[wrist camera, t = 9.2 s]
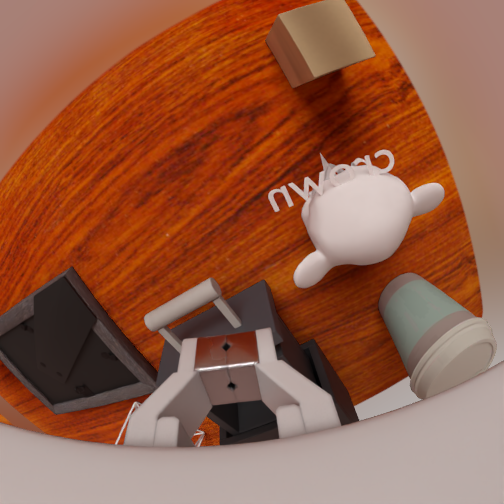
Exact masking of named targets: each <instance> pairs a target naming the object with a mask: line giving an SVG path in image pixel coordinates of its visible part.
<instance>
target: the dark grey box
mask: <svg viewBox="0 0 504 504" xmlns="http://www.w3.org/2000/svg"><path fill="white" fill-rule="evenodd" d="M300 346H301V348H302V349H303V350H304V352H305V353H306V355H307V356H308V357H309V360H310V363H311V366H312V370H313V373H314V376H315V379H316V382H317V385H318V386H319V387H320V388H322V389H323V390H324V391H326V392H327V393H329V394H330V395H331V396H332V399H333V402H334V405H335V408H336V411H337V414H338V417H339V420H340V423H341V426H343V425H347V424H350V423H354V422H358V421H359V419H358V416H357V414H356V411H355V408H354V406H353V403H352V401H351V398H350V396H349V393H348V391H347V389H346V388H345V386H344V385H343V383H342V382H341V380H340V378H339V377H338V375H337V374H336V372H335V371H334V369H333V368H332V366H331V365H330V363H329V362H328V360H327V358H326V357H325V355H324V354H323V352H322V351H321V349H320V348H319V346H318V345H317V343H316V342H315V340H314V339H312V340H310V341H308V342H306V343H304V344H302V345H300ZM274 439H280V438H279V431H278V424H277V421H276V422H273V423H270V424H268V425H265V426H262V427H259V428H257V429H254V430H251V431H248V432H245V433H242V434H239V435H236V436H233V435H232V434H230V433H229V432H227V431H226V430H225V429H223V428H222V427H220V445H232V444H242V443H251V442H260V441H267V440H274Z"/></svg>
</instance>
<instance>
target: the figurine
mask: <svg viewBox="0 0 504 504" xmlns="http://www.w3.org/2000/svg"><path fill="white" fill-rule="evenodd" d="M381 154H385V155H387V156H388V157H389V159H390V164H389V166H388V167H387V168H385V169H380V168H378V167H375V166H372V165H371V161H370V158H369V155H367V156H364V157H365V160H366V161H365V160H363V159H361V158H357V159H356V160H355V161H354V162H352V163H351V166H349V165H346V164H340V165H337V166H335V165H333V164H330V163H329V164H328V163H327V161H326V160H325V159H324V157H323V156H322V154H321V153H320V155H321V159H322V164H323V168H324V171H322V172H320V174H319V187H318V186H317V185H316V184H315V183H314V182H313V181H312V180H311V179H310V178H308V177H306V178H304V192H303V191H302V190H300V189H299V188H298V187H297V186H296V185H295V184H294V183H290V184H288V185H289V186H290V187H291V188H292V189H294V190H295V191H296V192H297V193H298V194H299V195H300V196H302V197H303V198H304V199H305V200H306V202H305V204H304V206H303V208H302V214H301V216H302V219H303V221H304V224H305V226H306V229H307V232H308V234H309V236H310V238H311V241H312V243H313V244H314V246H315V248H316V251H315V252H313V253H311V254H309V255H308V256H307V257H306V258H305V259H304V260H303V261H302V262H301V263H300V264H299V265H298V267H297V268H296V270H295V272H294V278H293V279H294V283H295V284H296V286H298V287H300V288H307V287H310V286H312V285H314V284H316V283H317V282H319V281H320V280H321V279H322V278H323V277H324V276H325V274H326V273H327V272H328V271H329V270H330V269H331V268H333V267H334V266H337V265H342V264H354V265H369V264H374V263H378V262H381V261H383V260H385V259H387V258H388V257H390V256H391V255H392V254H393V253H394V252H395V251H396V249H397V248H398V247H399V245H400V244H401V242H402V240H403V239H404V236H405V234H406V232H407V229H408V227H409V224H410V222H411V219H412V217H414V216H418V215H421V214H425V213H427V212H430V211H432V210H433V209H435V208H436V207H437V206H438V205H439V204H440V203H441V201H442V200H443V198H444V188H443V187H442V186H441V185H440V184H438V183H429V184H425V185H422V186H420V187H418V188H416V189H414V190H413V191H412V192H411V193H410V191H409V189H408V188H407V186H406V185H405V184H404V183H403V182H402V181H401V180H400V179H399V178H397V177H395V176H393V175H391V174H389V173H387V172H388V171H390V170H391V169H392V167H393V165H394V157H393V155H392V153H391V152H390V151H388V150H380V151H378V152H376V153H375V157H376V158H377V157H378V156H379V155H381ZM359 162H364V163H366V165H361V166H356V165H357V164H358V163H359ZM341 168H345V170H343V169H341ZM335 172H337V173H338V175H336V174H335ZM309 185H310V186H311V187H312V188H313V190H312V191H311V192H309V198H308V190H309ZM280 188H281V190H280V189H274V190H271V191H270V192H269V195H268V198H269V200H270V202H271V204H272V206H273V208H274V210H275V212H277V211H280V210H279V208H278V206H277V204H276V202H275V200H274V198H273V194H274V193H276V192H281V193H283V194H284V197H285V199H286V201H287V203H288V205H289V207H290V206H293V203H292V200H291V198H290V196H289V194H288V192H287V190H286V187H285V186H282V187H280Z"/></svg>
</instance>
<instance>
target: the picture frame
mask: <svg viewBox="0 0 504 504" xmlns="http://www.w3.org/2000/svg"><path fill="white" fill-rule="evenodd" d="M0 360H1V361H2V362H3V363H4V364H5V365H6V366H7V368H8V369H9V370H10V371H11V372H12V373H13V374H14V375H15V376H16V377H17V378H18V379H19V380H20V381H21V382H22V383H23V384H24V385H25V386H26V387H27V388H28V389H29V390H30V391H31V392H32V393H33V394H34V395H35V396H36V397H37V398H38V399H39V400H40V401H41V402H42V403H43V404H44V405H46V406H47V407H48V408H49V409H50V410H51V411H52V412H53V413H55V414H56V415H57V414H62V413H68V412H73V411H78V410H83V409H88V408H93V407H98V406H102V405H106V404H111V403H115V402H119V401H123V400H127V399H131V398H135V397H139V396H143V395H146V394H150V393H154V392H155V391H156V390H157V389H158V387H157V386H156V380H157V375H158V372H157V371H156V370H155V369H154V368H153V367H152V366H151V365H150V363H149V362H148V361H147V360H146V359H145V358H144V357H143V356H142V355H141V354H140V352H139V351H138V350H137V349H136V348H135V347H134V346H133V344H132V343H131V342H130V341H129V340H128V339H127V338H126V336H125V335H124V334H123V333H122V332H121V330H120V329H119V328H118V327H117V326H116V324H115V323H114V322H113V321H112V319H111V318H110V317H109V316H108V314H107V313H106V312H105V311H104V309H103V308H102V307H101V305H100V304H99V303H98V302H97V300H96V299H95V298H94V296H93V295H92V294H91V292H90V291H89V289H88V288H87V287H86V285H85V284H84V283H83V281H82V280H81V278H80V277H79V276H78V274H77V273H76V271H75V270H74V268H73V267H70V268H69V269H67V270H66V271H64V272H63V273H61V274H60V275H58V276H57V277H55V278H54V279H52V280H51V281H49V282H48V283H46V284H45V285H43V286H42V287H40V288H39V289H37V290H36V291H35V292H33V293H32V294H30V295H29V296H27V297H26V298H25V299H23V300H22V301H20V302H19V303H18V304H16V305H15V306H14V307H12V308H11V309H10V310H8V311H7V312H5V313H4V314H3V315H1V316H0Z"/></svg>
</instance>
